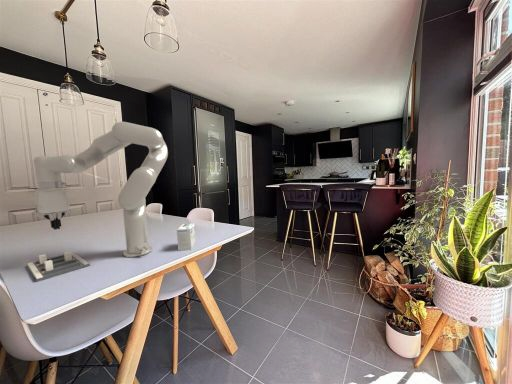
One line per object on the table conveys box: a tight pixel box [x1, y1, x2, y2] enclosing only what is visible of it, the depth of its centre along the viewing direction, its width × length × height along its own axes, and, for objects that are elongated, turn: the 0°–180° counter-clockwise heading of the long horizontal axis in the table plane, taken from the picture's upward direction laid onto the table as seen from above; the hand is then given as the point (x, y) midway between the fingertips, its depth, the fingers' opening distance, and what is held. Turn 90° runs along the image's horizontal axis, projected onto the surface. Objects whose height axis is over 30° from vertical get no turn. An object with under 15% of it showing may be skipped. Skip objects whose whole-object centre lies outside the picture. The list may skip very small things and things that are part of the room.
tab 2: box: [44, 260, 53, 271], centre depth 85 cm, size 2×2×4 cm
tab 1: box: [38, 253, 48, 264], centre depth 93 cm, size 2×2×4 cm
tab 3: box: [63, 251, 72, 261], centre depth 95 cm, size 2×2×4 cm
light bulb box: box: [176, 223, 196, 251], centre depth 110 cm, size 11×7×11 cm, turn 5°
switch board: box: [26, 251, 90, 282], centre depth 92 cm, size 24×16×2 cm, turn 53°
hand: (56, 228), depth 92 cm, fingers closed
